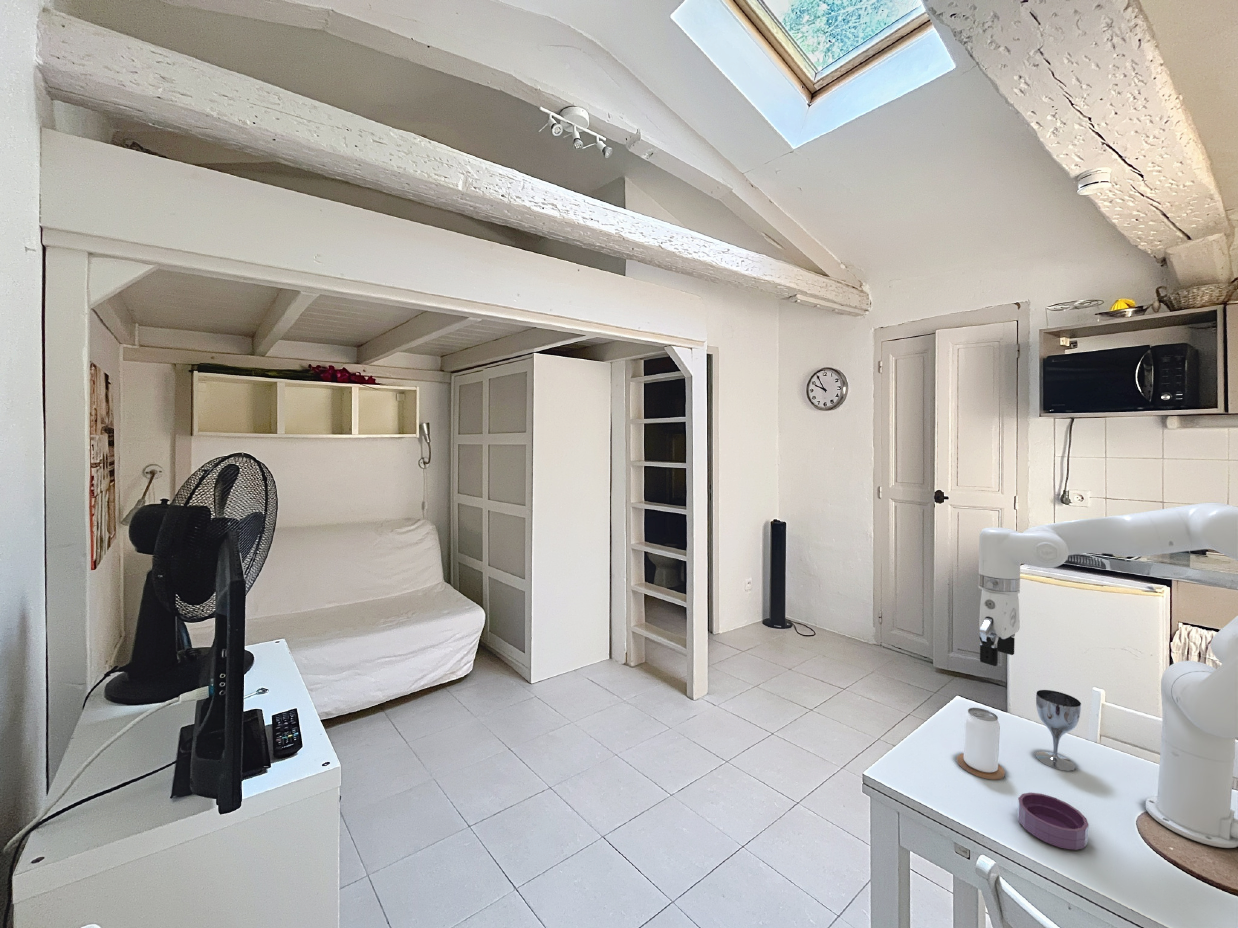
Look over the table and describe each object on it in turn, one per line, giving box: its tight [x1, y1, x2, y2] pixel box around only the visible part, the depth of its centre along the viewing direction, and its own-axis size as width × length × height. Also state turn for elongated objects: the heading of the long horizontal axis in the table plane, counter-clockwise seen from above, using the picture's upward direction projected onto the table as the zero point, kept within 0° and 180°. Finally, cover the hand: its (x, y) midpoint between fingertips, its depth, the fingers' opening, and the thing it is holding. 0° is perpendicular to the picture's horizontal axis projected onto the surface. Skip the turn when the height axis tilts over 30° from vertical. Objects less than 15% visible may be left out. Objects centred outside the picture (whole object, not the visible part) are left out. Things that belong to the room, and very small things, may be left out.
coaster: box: [956, 752, 1006, 781], centre depth 119 cm, size 9×9×1 cm
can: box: [963, 707, 1001, 773], centre depth 119 cm, size 6×6×12 cm
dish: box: [1016, 792, 1090, 851], centre depth 100 cm, size 10×10×4 cm
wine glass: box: [1034, 689, 1082, 772], centre depth 121 cm, size 8×8×15 cm
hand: (997, 658), depth 118 cm, fingers open, 9 cm apart
